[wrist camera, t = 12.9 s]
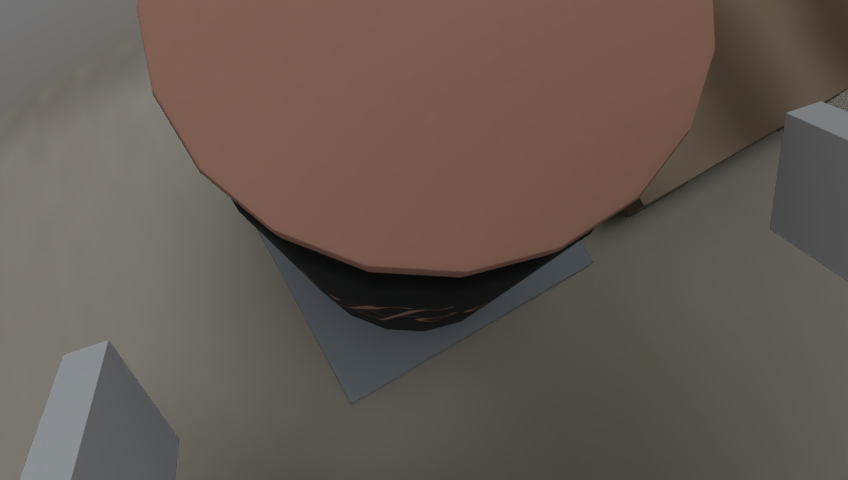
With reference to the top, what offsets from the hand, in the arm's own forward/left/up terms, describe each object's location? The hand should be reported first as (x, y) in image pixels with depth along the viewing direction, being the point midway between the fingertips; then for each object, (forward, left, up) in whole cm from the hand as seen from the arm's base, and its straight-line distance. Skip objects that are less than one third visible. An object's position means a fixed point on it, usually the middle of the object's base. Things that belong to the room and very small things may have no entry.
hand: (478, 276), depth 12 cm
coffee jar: (-2, -5, -17) cm, 17 cm away
